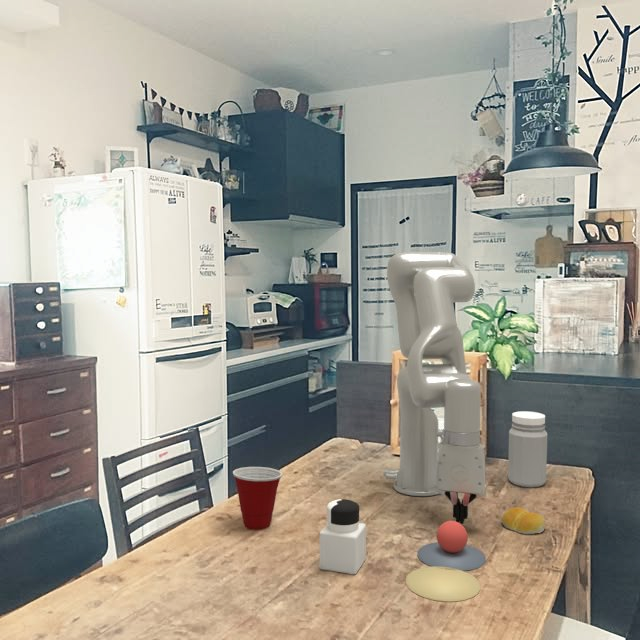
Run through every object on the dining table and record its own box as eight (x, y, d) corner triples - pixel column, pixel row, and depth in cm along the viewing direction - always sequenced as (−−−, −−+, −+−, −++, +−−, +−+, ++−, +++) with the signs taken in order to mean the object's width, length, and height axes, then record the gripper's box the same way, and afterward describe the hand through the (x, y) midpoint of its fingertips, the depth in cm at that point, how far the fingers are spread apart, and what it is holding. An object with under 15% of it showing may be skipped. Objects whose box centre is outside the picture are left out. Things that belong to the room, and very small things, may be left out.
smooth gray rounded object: (411, 565, 127) (411, 564, 127) (423, 539, 139) (423, 538, 139) (482, 575, 123) (482, 574, 123) (488, 547, 135) (488, 546, 135)
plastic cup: (293, 524, 147) (293, 470, 146) (255, 539, 139) (255, 482, 138) (259, 512, 155) (259, 460, 154) (222, 525, 147) (222, 471, 146)
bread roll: (532, 539, 140) (532, 520, 140) (495, 526, 147) (495, 508, 147) (553, 529, 146) (554, 511, 145) (517, 517, 152) (517, 500, 152)
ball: (440, 514, 137) (439, 544, 137) (434, 524, 131) (433, 555, 132) (470, 518, 135) (469, 548, 135) (465, 529, 129) (464, 559, 129)
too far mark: (399, 594, 116) (399, 593, 116) (412, 563, 128) (412, 562, 128) (476, 606, 112) (476, 605, 112) (483, 573, 124) (483, 572, 124)
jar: (550, 480, 178) (552, 413, 177) (540, 491, 170) (542, 420, 168) (513, 474, 183) (515, 409, 182) (502, 484, 175) (504, 415, 174)
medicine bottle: (366, 559, 130) (366, 498, 129) (355, 575, 123) (356, 511, 122) (330, 554, 132) (331, 494, 131) (318, 569, 125) (319, 506, 124)
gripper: (423, 439, 143) (422, 523, 144) (496, 444, 138) (494, 532, 139) (429, 430, 150) (428, 511, 151) (499, 436, 145) (497, 519, 147)
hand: (460, 521), depth 145 cm, fingers closed
